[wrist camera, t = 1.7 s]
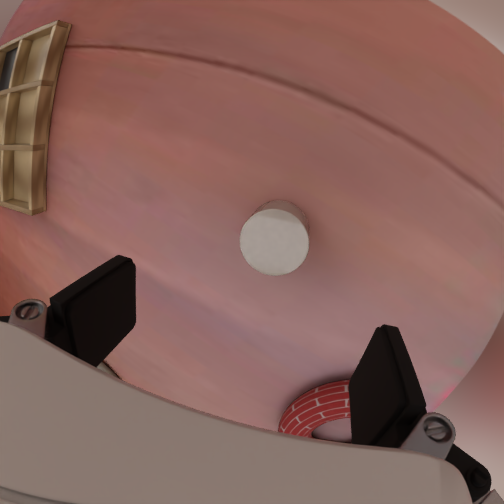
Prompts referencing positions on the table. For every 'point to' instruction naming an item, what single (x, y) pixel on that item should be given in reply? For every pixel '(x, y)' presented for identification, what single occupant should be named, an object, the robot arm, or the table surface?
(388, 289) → the table surface
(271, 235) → the grey squat cylinder
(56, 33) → the compartment tray
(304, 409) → the torus
